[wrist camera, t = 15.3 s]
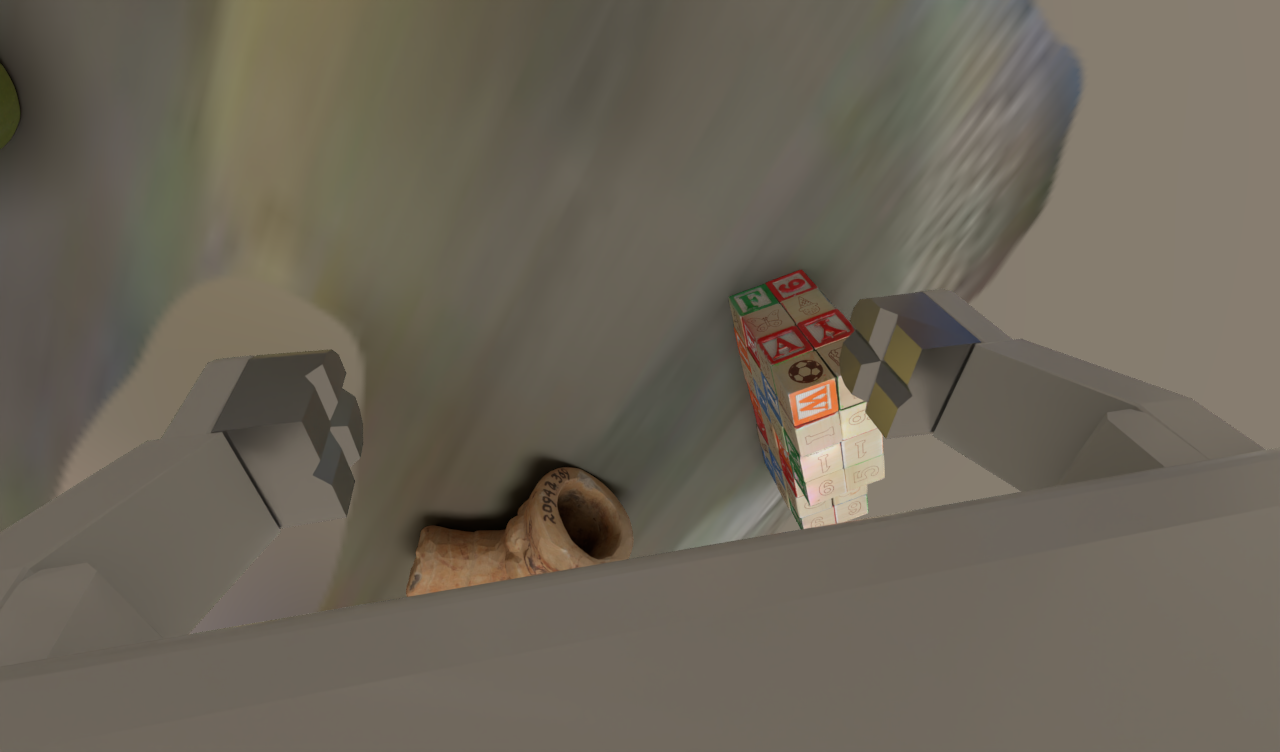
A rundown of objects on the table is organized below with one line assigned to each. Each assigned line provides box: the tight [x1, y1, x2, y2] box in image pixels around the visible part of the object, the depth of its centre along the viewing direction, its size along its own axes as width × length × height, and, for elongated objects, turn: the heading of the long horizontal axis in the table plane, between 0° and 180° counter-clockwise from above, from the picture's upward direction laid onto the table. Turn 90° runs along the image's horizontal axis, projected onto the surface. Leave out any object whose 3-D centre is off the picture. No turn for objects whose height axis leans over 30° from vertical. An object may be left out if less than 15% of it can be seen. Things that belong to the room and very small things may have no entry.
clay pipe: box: [406, 467, 633, 597], centre depth 52 cm, size 19×11×15 cm
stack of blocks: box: [729, 270, 885, 529], centre depth 47 cm, size 21×6×12 cm, turn 17°
